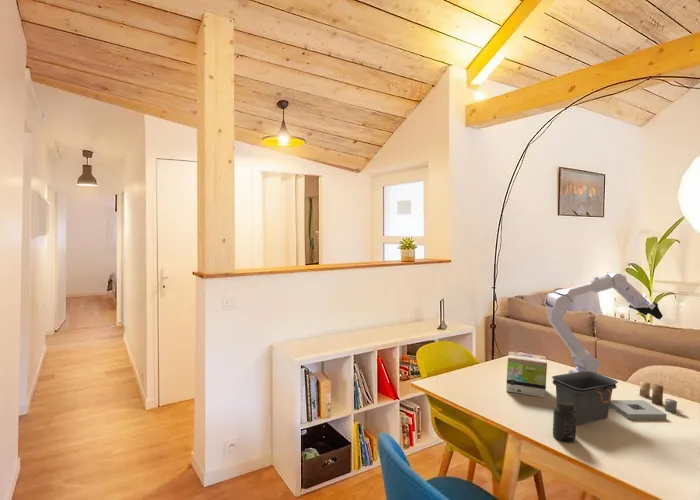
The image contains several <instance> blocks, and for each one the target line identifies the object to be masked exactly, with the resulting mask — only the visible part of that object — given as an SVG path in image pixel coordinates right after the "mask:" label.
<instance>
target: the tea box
mask: <svg viewBox="0 0 700 500" xmlns="http://www.w3.org/2000/svg"><path fill="white" fill-rule="evenodd" d="M507 356H508V357H507V366H506V367H507V368H506V371H507V372H506V392H510V393H516V394H522V395H528V396H533V397H539V398H545V397H546V390H547V389H546V388H547V372H548V371H547V369H548V361H547V357H546V355H545V356H544V355H539V354H530V353H523V352H522V353H521V352H516V351H508V355H507Z"/></svg>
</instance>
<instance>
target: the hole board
mask: <svg viewBox="0 0 700 500" xmlns="http://www.w3.org/2000/svg"><path fill="white" fill-rule="evenodd" d="M609 408H611V409H612V410H614V411H615V412H617V414H619V415H621V416H622V417H624V418H625V419H626V420H627V421H628V420H638V421H639V420H646V421H647V420H648V421H649V420H652V421H653V420H654V421H655V420H665V421H666V420H667V415H668V414H667V413H665V412H664V411H662V410H660V409H659V408H657V407H656V406H654V405H652V404H650V403H649V402H647V401H645V400H644V399H639V400H638V399H637V400H636V399H635V400H634V399H632V400H631V399H630V400H629V399H628V400H627V399H618V400H616V399H611V401H610V407H609Z"/></svg>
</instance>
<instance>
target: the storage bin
mask: <svg viewBox="0 0 700 500" xmlns="http://www.w3.org/2000/svg"><path fill="white" fill-rule="evenodd" d="M551 379H552V384H553V385H554V386H555V394H556V395H555V396H556V398H555V399H556V401H555V402H556V403H557V402H558V400H568V401H570V402H572V403H573V404H574V410H573V411H574V412H575V413H576V415H577V422H576V426H577V425H582V424H586V423H590V422H595V421H600V420H604V419H607V418H608V417H609V411H610V408H611V407H610V401H611V400H612V393H613V390H615V389H617V384H618V383H619V381H618V380H616V379H614V378H611V377H608V376H606V375H603V374H600V373H598V372H596V373H595V372H590V371H582V372H575V373H569V372H568V373H563V374H557V375H553V376H551ZM556 408H558V407H557V406H556Z"/></svg>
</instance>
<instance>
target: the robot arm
mask: <svg viewBox="0 0 700 500" xmlns="http://www.w3.org/2000/svg"><path fill="white" fill-rule="evenodd" d="M610 289H613V290H615V291H616V292H617V293H618V294H619V295H620V296H621V297H622V298H623V299H625V301H626V302H627V303H628V304H629V305H628V308H629V309H633V310H635V311H636V312H639V313H640V314H642V315H644V316H647V315H648V314H649V315H651V316H652V317H653V318H655V319H657V320H659V321H660V320H661V319H662V318H663V317H664V316H663V314H662V312H661V311H660V308H659V304H658V302H656V301H653V302H651V301H650V300H649V299H648V298H647V297H648V296H647V294H646V293H641V292H640V291H639V290H638V289H636V288H635V287H634V286H633V285H632V284H631V283H630V282H628V279H627V277H626V275H623V274H622V273H618V272H613V271H612V272H606V273H605V274H604V275H602V276H593V277H592V278H591V279H590V280H589V281H588V283H584V284H580V285H575V286H570V287H567V288H561V289H558V290H555V291H553V292H550V293H548V294H547V295H546V296H545V299H544V302H543V304H544V306H545V309H546V317H547V318H546V319H547V321H548V323H549V324H550V326H552V329H554V330H555V332H556V334H557V335H558V336H559V337H560V338H561V340H562V341H563V343H564V344H565V345H566V347H567V348H568V350H569V351H570V355H571V357H572V361H573V363H574V364H575V368H574V369H570V370H568V371H569V372H568V373H575V372H582V371H590V372H595V373H597V371H598V370H599V369H600V361H599V360H598V359H597V358H595V357H594V356H593V355H592V354H591V353H590V352H589V351H588V350H586V348H585V347H584V346H583V345H582V343H581V342H580V341H579V339H578V338H577V336H576V335H575V334H574V332H573V331H572V329H571V328H570V327H569V326H568V324H567V322H565V320H564V317H565V315H566V314H567V313H568V311H569V309H570V308H571V306H572V303H574V301H575V298H576V297H578V296H581V295H584V294H587V293H590V292H593V293H600V292H603V291H607V290H610Z"/></svg>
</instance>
